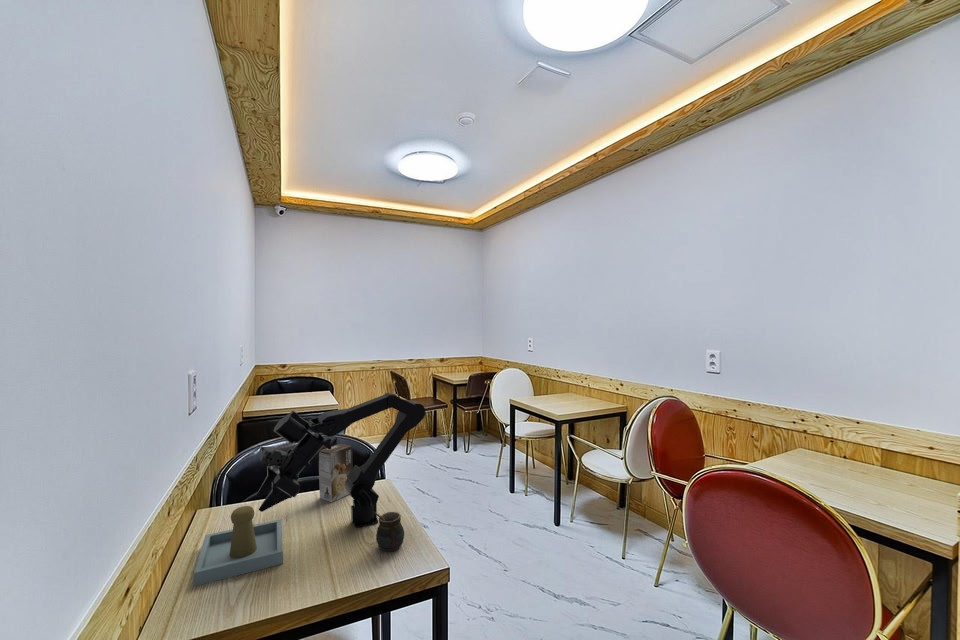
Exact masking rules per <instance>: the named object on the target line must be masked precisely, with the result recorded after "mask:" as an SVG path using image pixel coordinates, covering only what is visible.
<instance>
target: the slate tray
mask: <svg viewBox="0 0 960 640" xmlns="http://www.w3.org/2000/svg"><path fill="white" fill-rule="evenodd" d="M282 524H283V523H282V518H280V519H276V520H271V521H266V522H260V523H257V524H253V528H254V534H255V540H256V546H257V549H256V551H255V552H254V553H252V554H251V555H249V556H246V557H243V558H231V557H230V547H231V539H232V531H233V528H232V529H227V530H222V531H218V532H213V533H210V534H209V533H208V534H205V536H204V539H203V542H202V545H201V548H200V552H199V556H198V558H197V561H196V565H195V568H194V571H193V579H194V580H193V582H194V583H193V586H194V587H196V586H200V585H204V584H208V583H213V582H217V581H220V580H224V579H228V578H231V577H235V576H239V575H243V574H247V573H252V572H255V571H259V570H263V569H268V568H271V567H275V566H279V565H282V564H284V549H283V545H284V544H283V525H282Z"/></svg>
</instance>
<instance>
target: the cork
mask: <svg viewBox="0 0 960 640" xmlns="http://www.w3.org/2000/svg"><path fill="white" fill-rule="evenodd" d="M254 518H255V509H254V507H252V506H249V505H243V506H240V507H237V508H235V509H234V510H232V513H231V515H230V521H231V523H232V529H233V531H232V539H231V547H230V557H231V558H243V557H246V556H249V555H251V554H252V553H254V552H255V551H256V549H257V546H256V540H255V534H254V528H253V525H254V523H253V519H254Z"/></svg>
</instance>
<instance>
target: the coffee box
mask: <svg viewBox="0 0 960 640" xmlns="http://www.w3.org/2000/svg"><path fill="white" fill-rule="evenodd" d="M353 459H354V458H353V446H352V445H350V444H344V443H338V444H335V445H331V449H328V448H326V447H325V448H323V449H322V448H321V449H320V451H319V452H318V476H319V477H318V479H319V480H318V481H319V499H321V500H324V501H327V502H330V503H333V502H336V501H338V500H340V499H342V498H344V497H346V496H348V495H350V494H349V493H348V491H347V490H346V488H345V481H346V479H347V477H346V476H347V475H348V474H349V473H350V472H351V471H352V469H353V467H354V465H353V464H354V463H353V462H354V461H353Z"/></svg>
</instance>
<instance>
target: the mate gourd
mask: <svg viewBox="0 0 960 640" xmlns="http://www.w3.org/2000/svg"><path fill="white" fill-rule="evenodd" d="M374 513H375V514H376V515H377V518H378V527H377V530H376V535H375V537H376V539H375V540H376V543H377V546H378V548H379V549H380V550H382V551H384V552H395V551H396V550H398V549H399V548H400V547H401V546H402V544H403V543H404V538H405V530H404V527H403V525H402V522H401V521H402V520H401V518H402V515H401V513H399V512H397V511H388V512H385V513H382V514H381V515H380V514H379V513H376V512H374Z"/></svg>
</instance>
